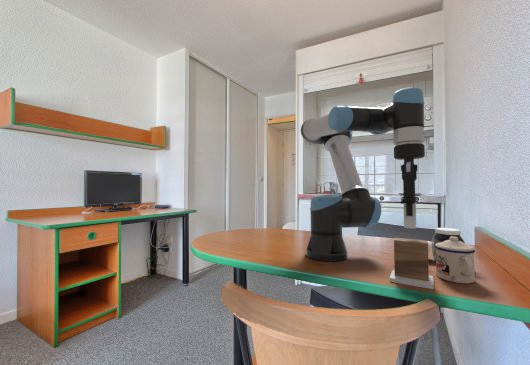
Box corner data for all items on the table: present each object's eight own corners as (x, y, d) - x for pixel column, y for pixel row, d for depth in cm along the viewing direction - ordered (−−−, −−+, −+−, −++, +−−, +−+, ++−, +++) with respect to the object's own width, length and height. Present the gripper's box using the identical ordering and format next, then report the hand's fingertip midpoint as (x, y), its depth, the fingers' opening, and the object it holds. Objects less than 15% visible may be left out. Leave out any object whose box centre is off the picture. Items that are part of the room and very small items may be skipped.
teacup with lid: (429, 271, 74) (428, 233, 75) (463, 273, 73) (462, 234, 73) (451, 287, 63) (449, 242, 63) (492, 290, 61) (490, 243, 61)
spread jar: (470, 269, 77) (469, 232, 77) (430, 267, 79) (430, 231, 79) (450, 258, 89) (449, 226, 89) (415, 256, 91) (415, 225, 91)
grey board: (389, 281, 67) (389, 277, 67) (392, 272, 74) (392, 269, 74) (433, 289, 61) (433, 285, 61) (432, 279, 68) (432, 275, 68)
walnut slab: (428, 281, 64) (428, 243, 64) (394, 275, 68) (394, 240, 69) (428, 276, 68) (427, 240, 68) (395, 271, 72) (395, 237, 72)
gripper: (425, 137, 59) (427, 233, 58) (424, 148, 75) (425, 223, 74) (390, 140, 63) (391, 230, 62) (396, 150, 79) (398, 221, 78)
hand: (410, 226), depth 68 cm, fingers open, 6 cm apart
